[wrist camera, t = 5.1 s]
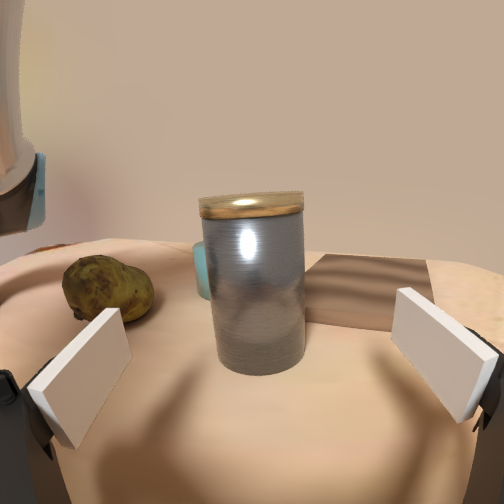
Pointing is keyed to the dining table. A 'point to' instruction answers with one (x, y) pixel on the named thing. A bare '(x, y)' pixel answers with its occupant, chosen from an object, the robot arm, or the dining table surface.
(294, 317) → the tea tin
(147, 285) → the potato
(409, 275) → the walnut board
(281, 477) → the dining table surface
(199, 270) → the teal domed cylinder
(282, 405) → the dining table surface
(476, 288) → the dining table surface
